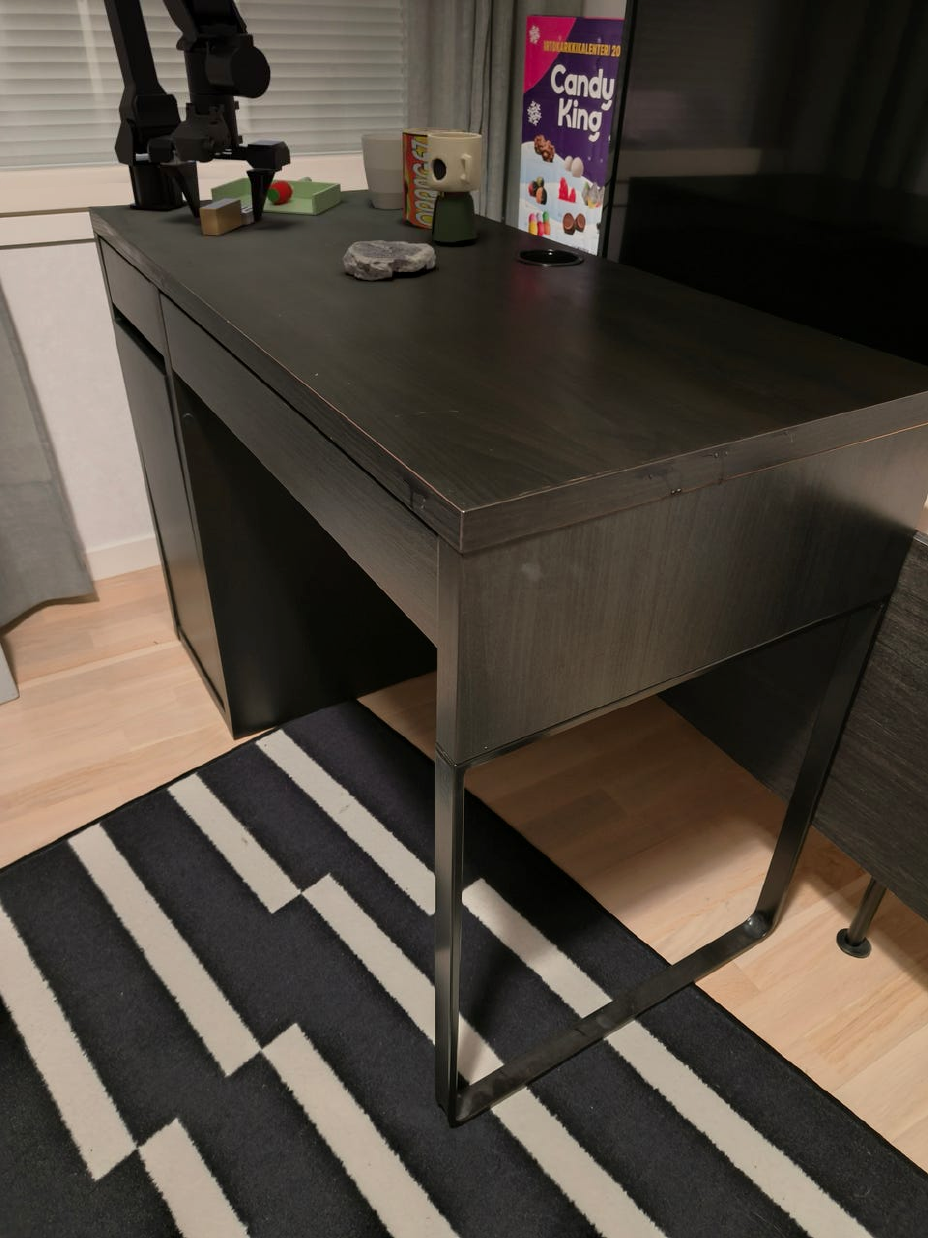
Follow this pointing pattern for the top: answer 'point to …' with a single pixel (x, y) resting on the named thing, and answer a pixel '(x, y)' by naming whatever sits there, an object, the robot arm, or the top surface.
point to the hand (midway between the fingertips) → (227, 219)
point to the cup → (384, 168)
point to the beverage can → (418, 177)
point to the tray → (315, 192)
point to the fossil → (386, 258)
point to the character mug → (454, 183)
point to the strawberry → (279, 192)
